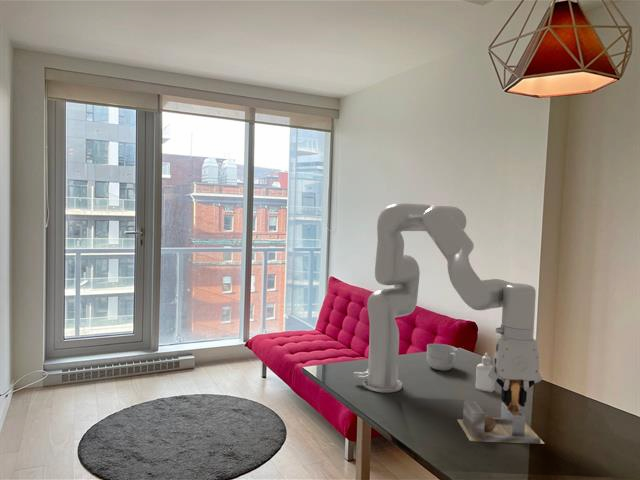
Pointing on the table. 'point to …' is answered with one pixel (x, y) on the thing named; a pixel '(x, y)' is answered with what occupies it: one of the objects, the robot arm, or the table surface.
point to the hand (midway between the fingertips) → (513, 403)
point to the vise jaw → (513, 411)
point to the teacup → (441, 356)
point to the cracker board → (475, 430)
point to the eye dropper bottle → (484, 375)
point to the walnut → (489, 423)
